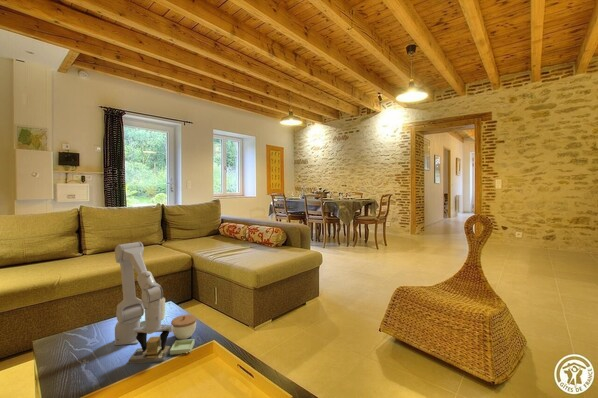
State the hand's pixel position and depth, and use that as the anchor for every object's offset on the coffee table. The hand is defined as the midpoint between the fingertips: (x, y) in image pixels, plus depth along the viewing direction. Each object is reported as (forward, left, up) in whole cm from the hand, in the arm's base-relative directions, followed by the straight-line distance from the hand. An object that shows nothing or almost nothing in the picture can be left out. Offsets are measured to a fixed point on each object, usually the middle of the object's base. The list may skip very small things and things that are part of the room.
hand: (154, 349), depth 118 cm
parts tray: (+10, +4, -3) cm, 11 cm away
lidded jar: (+8, +15, -3) cm, 17 cm away
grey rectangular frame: (-1, 0, -3) cm, 3 cm away
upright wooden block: (0, 0, -3) cm, 3 cm away
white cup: (-11, +36, -3) cm, 38 cm away
